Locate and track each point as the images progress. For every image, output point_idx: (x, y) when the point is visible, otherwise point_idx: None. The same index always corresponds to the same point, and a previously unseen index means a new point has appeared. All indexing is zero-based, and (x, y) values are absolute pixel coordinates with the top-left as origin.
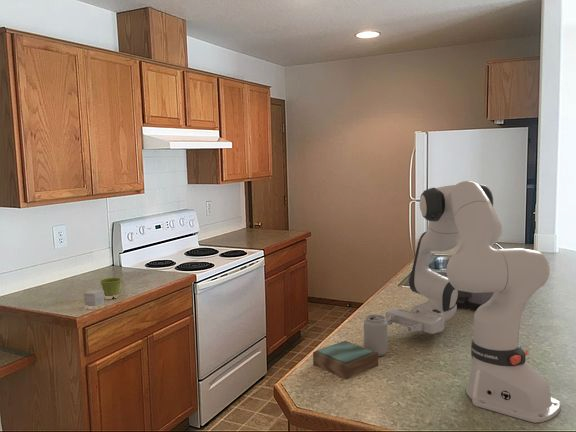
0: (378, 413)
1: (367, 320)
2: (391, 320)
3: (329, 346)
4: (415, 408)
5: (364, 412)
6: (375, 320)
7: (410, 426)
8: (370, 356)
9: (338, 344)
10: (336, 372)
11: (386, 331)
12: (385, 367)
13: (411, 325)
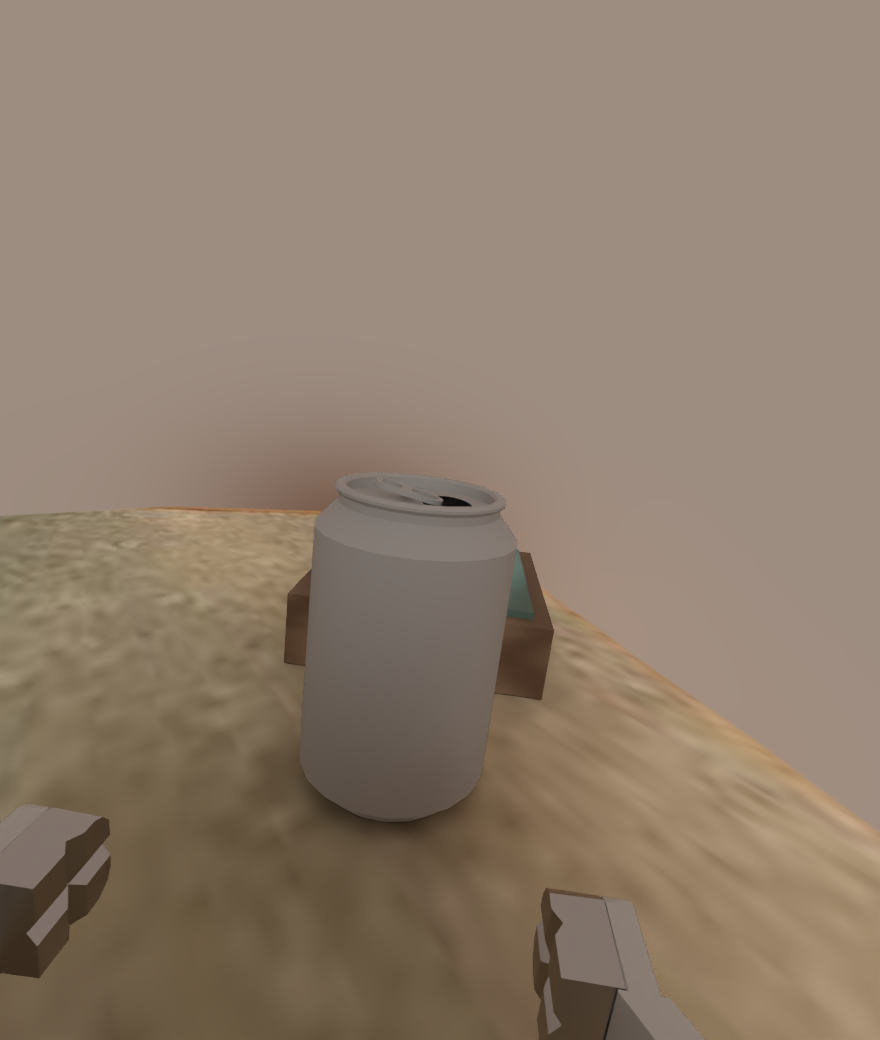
0: (169, 523)
1: (450, 492)
2: (550, 965)
3: (536, 583)
4: (53, 541)
5: (208, 521)
6: (382, 473)
7: (71, 513)
8: (307, 574)
9: (516, 587)
10: None
11: (310, 587)
12: (236, 661)
13: (34, 837)
